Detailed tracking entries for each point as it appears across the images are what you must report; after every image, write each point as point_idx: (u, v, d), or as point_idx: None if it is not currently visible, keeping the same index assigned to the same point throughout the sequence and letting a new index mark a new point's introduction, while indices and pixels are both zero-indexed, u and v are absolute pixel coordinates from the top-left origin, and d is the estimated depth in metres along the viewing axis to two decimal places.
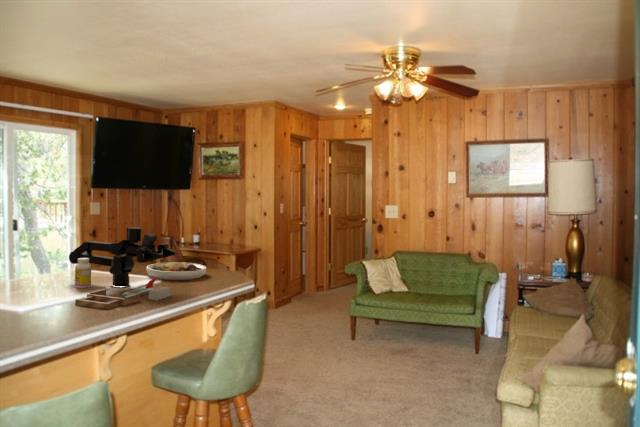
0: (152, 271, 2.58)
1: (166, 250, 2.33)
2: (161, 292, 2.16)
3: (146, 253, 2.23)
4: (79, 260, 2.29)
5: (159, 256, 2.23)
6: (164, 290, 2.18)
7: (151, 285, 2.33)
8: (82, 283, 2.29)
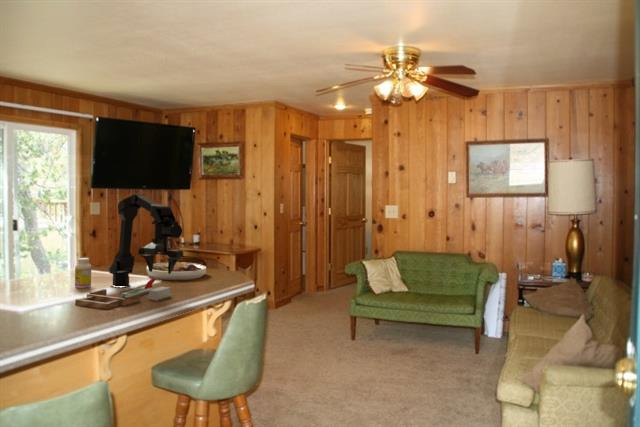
0: (152, 271, 2.58)
1: None
2: (161, 292, 2.16)
3: None
4: (79, 260, 2.29)
5: None
6: (164, 290, 2.18)
7: (150, 285, 2.32)
8: (82, 283, 2.29)
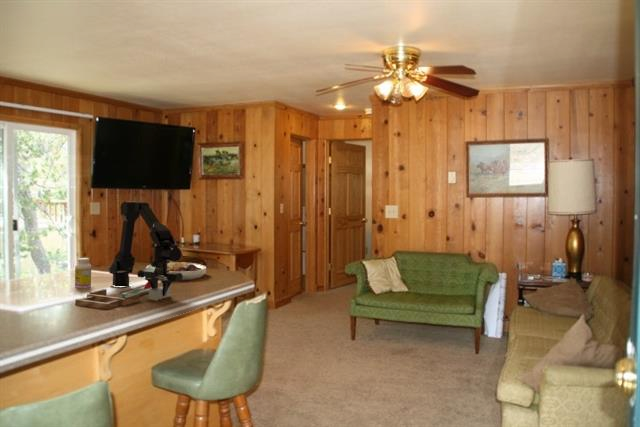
0: None
1: None
2: (161, 292, 2.16)
3: None
4: (79, 260, 2.29)
5: None
6: None
7: (150, 285, 2.32)
8: (82, 283, 2.29)
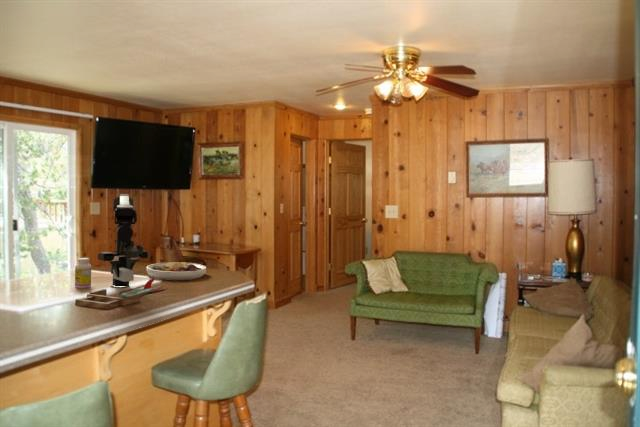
0: (152, 271, 2.58)
1: (130, 264, 2.08)
2: None
3: None
4: (79, 260, 2.29)
5: (116, 274, 2.05)
6: None
7: (149, 286, 2.31)
8: (82, 283, 2.29)
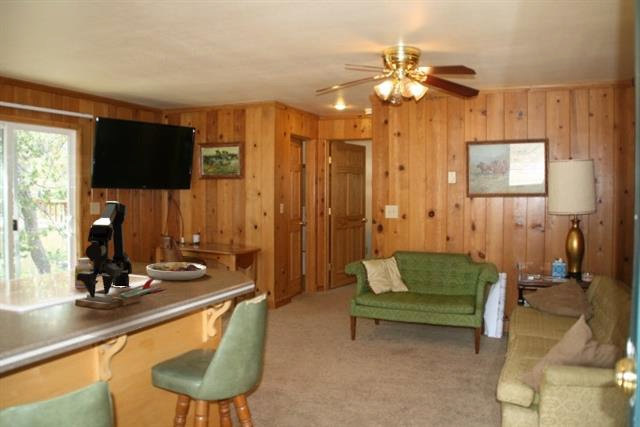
0: (152, 271, 2.58)
1: (109, 282, 2.05)
2: None
3: None
4: (79, 260, 2.29)
5: (92, 295, 1.97)
6: None
7: (148, 286, 2.31)
8: (82, 283, 2.29)
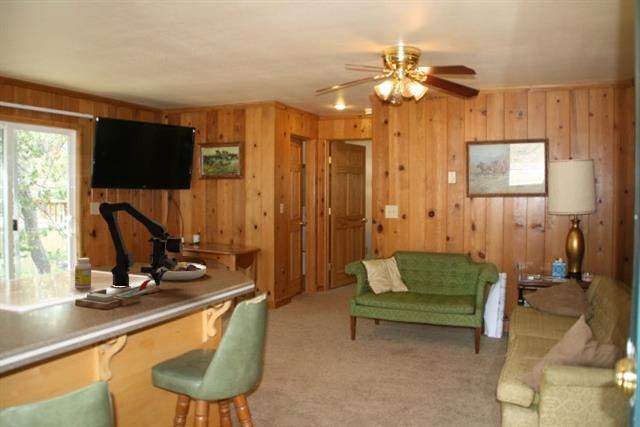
0: None
1: (160, 275, 2.37)
2: None
3: None
4: (79, 260, 2.29)
5: (157, 283, 2.36)
6: None
7: (144, 287, 2.28)
8: (82, 283, 2.29)
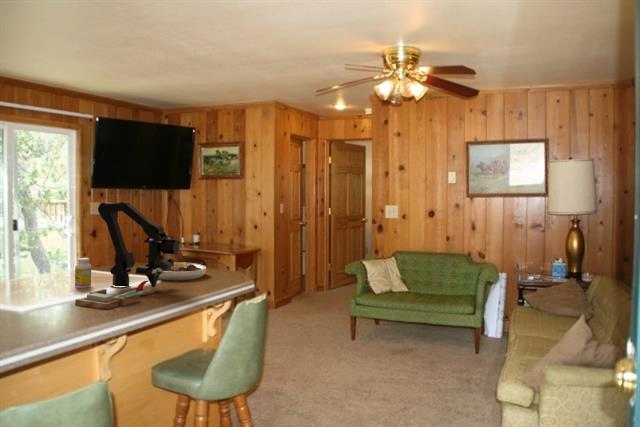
0: None
1: (156, 276, 2.34)
2: None
3: None
4: (79, 260, 2.29)
5: (152, 285, 2.33)
6: None
7: (141, 288, 2.25)
8: (82, 283, 2.29)
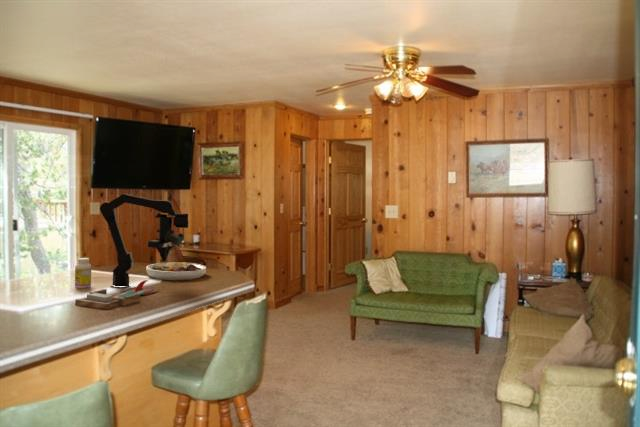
0: (152, 271, 2.58)
1: None
2: None
3: (162, 248, 2.37)
4: (79, 260, 2.29)
5: (163, 258, 2.39)
6: None
7: (141, 288, 2.25)
8: (82, 283, 2.29)
